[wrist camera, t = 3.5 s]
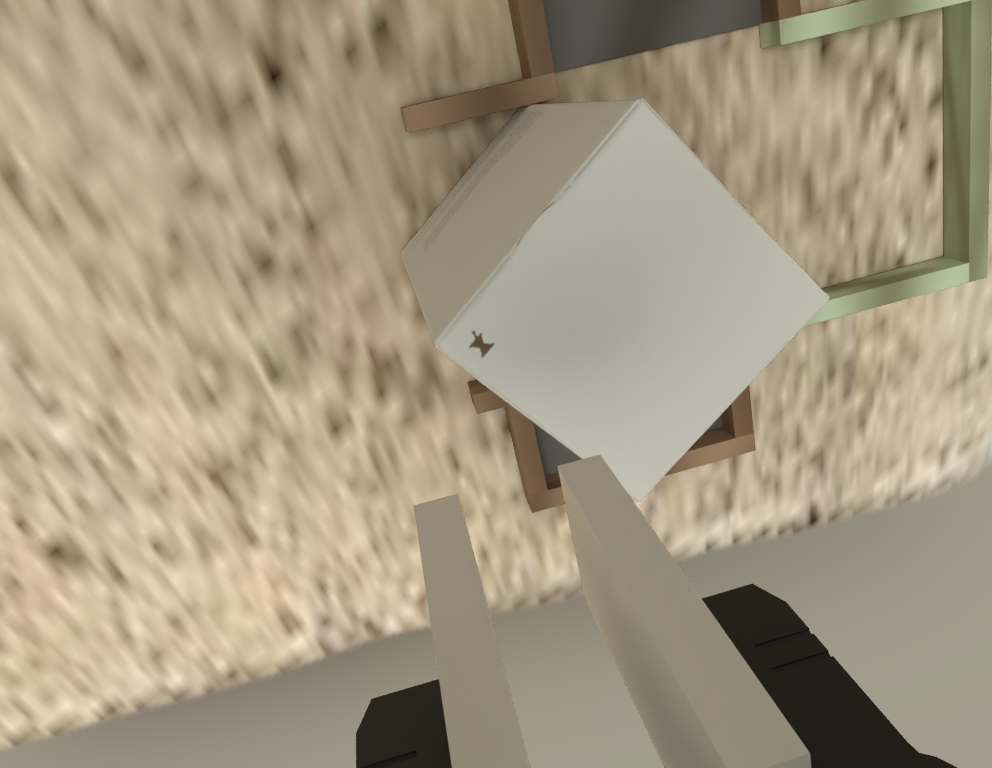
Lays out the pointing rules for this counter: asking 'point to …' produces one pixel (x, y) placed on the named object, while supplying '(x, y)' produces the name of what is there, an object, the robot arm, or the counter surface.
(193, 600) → the counter surface
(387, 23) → the counter surface
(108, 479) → the counter surface
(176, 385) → the counter surface
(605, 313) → the supplement box
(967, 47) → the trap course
